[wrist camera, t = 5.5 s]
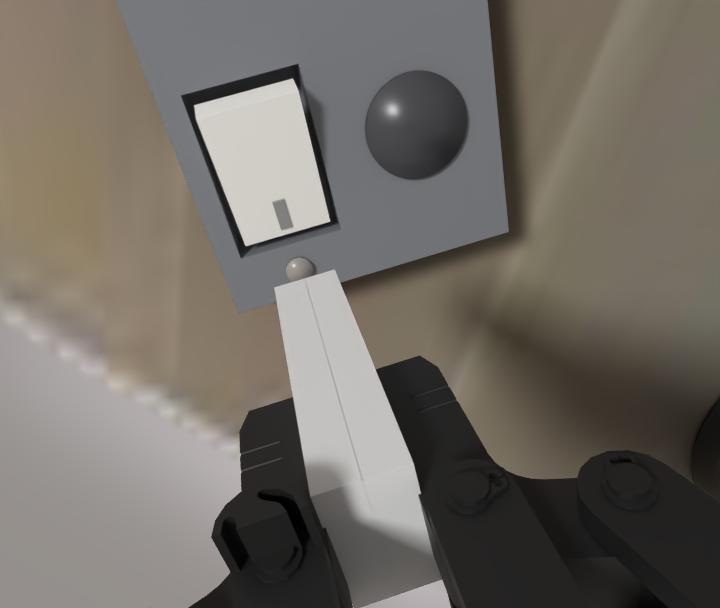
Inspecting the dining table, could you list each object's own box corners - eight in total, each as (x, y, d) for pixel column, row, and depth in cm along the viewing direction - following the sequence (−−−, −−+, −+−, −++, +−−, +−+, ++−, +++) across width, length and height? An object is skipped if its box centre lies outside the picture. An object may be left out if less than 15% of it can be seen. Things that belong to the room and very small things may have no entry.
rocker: (324, 206, 21) (330, 222, 21) (242, 230, 21) (245, 247, 20) (292, 78, 18) (299, 91, 17) (194, 105, 18) (195, 120, 17)
